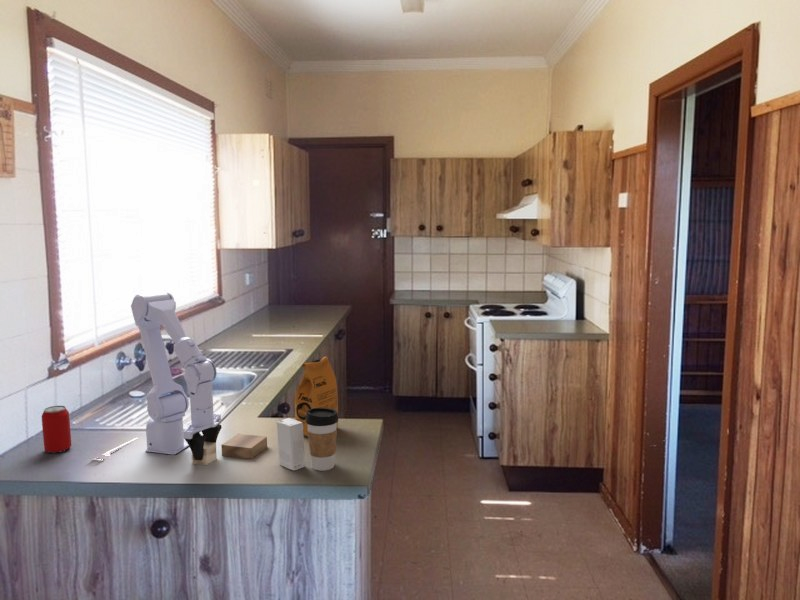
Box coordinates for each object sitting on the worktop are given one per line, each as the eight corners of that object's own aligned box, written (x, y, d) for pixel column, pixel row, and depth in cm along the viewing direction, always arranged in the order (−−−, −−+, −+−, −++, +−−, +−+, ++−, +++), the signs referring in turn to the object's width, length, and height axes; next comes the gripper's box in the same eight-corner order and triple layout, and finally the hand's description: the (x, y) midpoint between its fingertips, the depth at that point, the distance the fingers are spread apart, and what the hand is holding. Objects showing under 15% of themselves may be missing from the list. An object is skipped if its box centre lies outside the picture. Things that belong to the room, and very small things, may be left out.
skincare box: (306, 466, 168) (304, 422, 166) (292, 471, 164) (290, 426, 163) (291, 460, 172) (290, 416, 170) (277, 465, 169) (276, 420, 167)
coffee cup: (307, 460, 172) (306, 406, 170) (339, 459, 172) (338, 405, 170) (305, 473, 163) (304, 416, 161) (338, 472, 164) (337, 415, 162)
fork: (142, 440, 189) (142, 434, 188) (97, 466, 169) (96, 459, 169) (133, 439, 189) (132, 433, 189) (86, 464, 170) (86, 458, 170)
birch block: (192, 463, 170) (191, 447, 170) (202, 457, 175) (201, 441, 174) (207, 465, 169) (206, 448, 168) (216, 458, 173) (215, 442, 173)
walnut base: (221, 455, 175) (221, 444, 175) (238, 443, 184) (238, 433, 183) (251, 458, 173) (251, 448, 172) (267, 446, 182) (266, 436, 181)
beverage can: (73, 444, 184) (69, 403, 182) (70, 452, 178) (67, 410, 176) (46, 447, 182) (42, 406, 180) (42, 455, 175) (39, 413, 174)
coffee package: (290, 433, 192) (288, 362, 189) (318, 422, 202) (317, 354, 199) (314, 440, 186) (313, 366, 183) (342, 428, 196) (341, 358, 193)
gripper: (199, 416, 162) (202, 467, 164) (229, 399, 175) (231, 447, 177) (175, 414, 163) (178, 464, 165) (207, 397, 177) (209, 444, 179)
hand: (204, 455), depth 172 cm, fingers open, 5 cm apart
